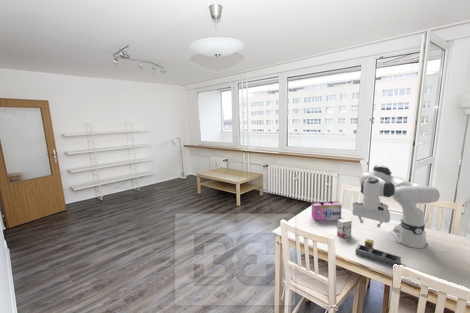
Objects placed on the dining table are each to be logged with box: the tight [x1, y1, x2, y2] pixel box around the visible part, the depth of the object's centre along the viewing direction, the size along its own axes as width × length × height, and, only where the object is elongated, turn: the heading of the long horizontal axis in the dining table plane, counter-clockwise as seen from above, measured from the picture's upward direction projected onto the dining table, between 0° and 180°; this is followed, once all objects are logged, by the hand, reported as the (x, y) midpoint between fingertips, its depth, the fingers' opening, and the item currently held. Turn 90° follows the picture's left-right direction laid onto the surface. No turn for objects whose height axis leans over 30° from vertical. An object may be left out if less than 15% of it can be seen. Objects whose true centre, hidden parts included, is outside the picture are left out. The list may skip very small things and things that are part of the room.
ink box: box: [336, 217, 353, 238], centre depth 161 cm, size 9×5×12 cm, turn 106°
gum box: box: [311, 201, 342, 221], centre depth 190 cm, size 24×8×14 cm, turn 88°
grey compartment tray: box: [355, 243, 402, 267], centre depth 134 cm, size 22×7×4 cm, turn 46°
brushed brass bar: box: [364, 238, 375, 249], centre depth 143 cm, size 4×4×6 cm
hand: (370, 224), depth 141 cm, fingers open, 8 cm apart
